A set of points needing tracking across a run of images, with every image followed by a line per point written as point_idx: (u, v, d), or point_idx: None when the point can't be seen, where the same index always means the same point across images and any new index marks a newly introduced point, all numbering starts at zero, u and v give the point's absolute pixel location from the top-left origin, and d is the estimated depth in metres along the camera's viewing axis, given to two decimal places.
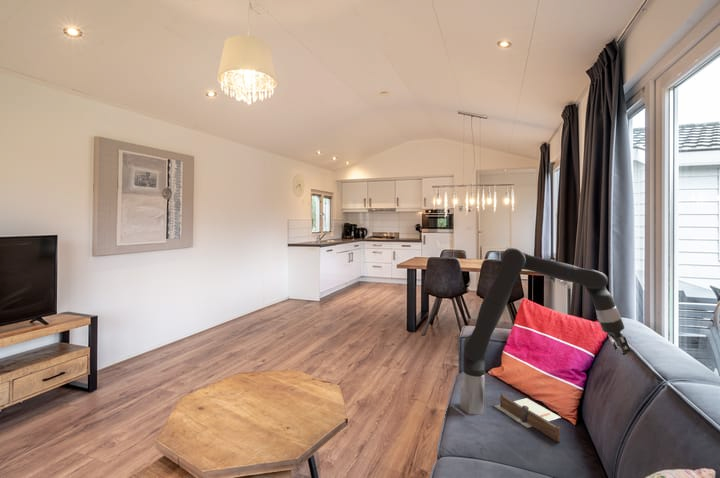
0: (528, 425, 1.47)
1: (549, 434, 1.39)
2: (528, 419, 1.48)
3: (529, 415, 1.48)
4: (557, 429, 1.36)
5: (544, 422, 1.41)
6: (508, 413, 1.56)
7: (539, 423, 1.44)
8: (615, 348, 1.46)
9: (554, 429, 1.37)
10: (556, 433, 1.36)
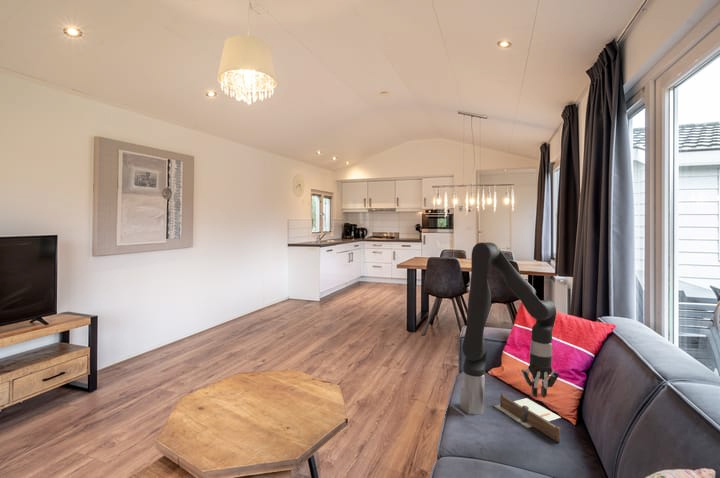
0: (528, 425, 1.47)
1: (549, 434, 1.39)
2: (528, 419, 1.48)
3: (529, 415, 1.48)
4: (557, 429, 1.36)
5: (544, 422, 1.41)
6: (508, 413, 1.56)
7: (539, 423, 1.44)
8: (541, 389, 1.38)
9: (554, 429, 1.37)
10: (556, 433, 1.36)
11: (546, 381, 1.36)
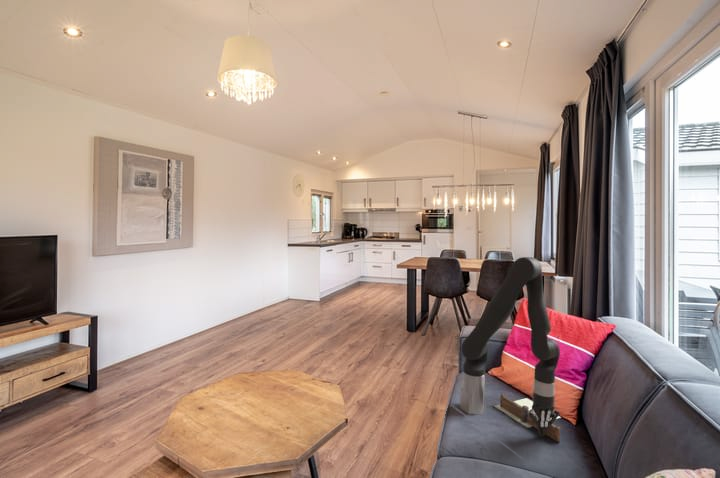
0: (528, 425, 1.47)
1: (549, 434, 1.39)
2: (528, 419, 1.48)
3: None
4: (557, 429, 1.36)
5: None
6: (508, 413, 1.56)
7: None
8: None
9: (554, 429, 1.37)
10: (556, 433, 1.36)
11: (548, 419, 1.37)
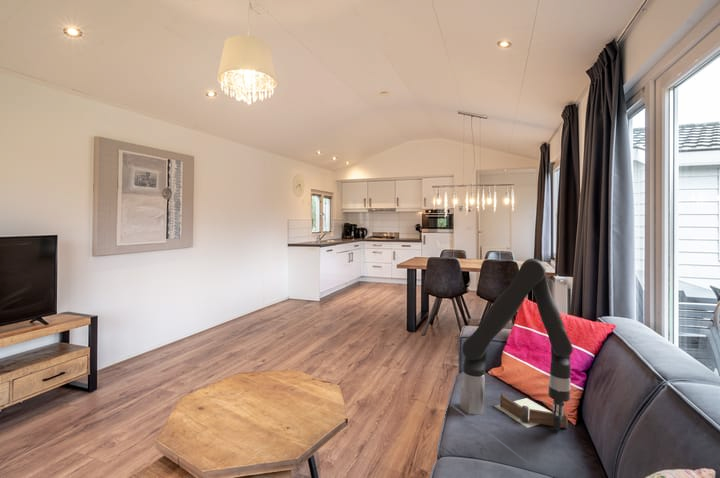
0: (528, 425, 1.47)
1: None
2: (530, 418, 1.49)
3: (532, 413, 1.49)
4: (566, 416, 1.45)
5: (551, 415, 1.47)
6: (508, 413, 1.56)
7: (544, 417, 1.48)
8: None
9: (563, 418, 1.45)
10: (566, 421, 1.45)
11: None
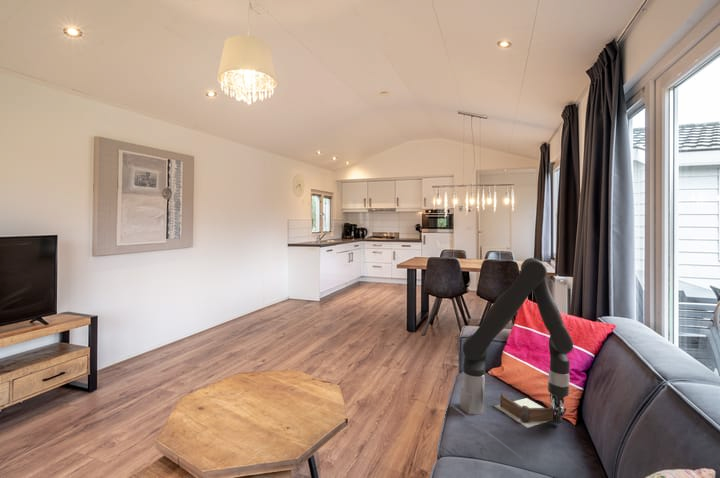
0: (528, 425, 1.47)
1: None
2: (530, 417, 1.50)
3: (532, 412, 1.50)
4: None
5: (548, 410, 1.50)
6: (508, 413, 1.56)
7: (542, 414, 1.50)
8: None
9: None
10: None
11: None
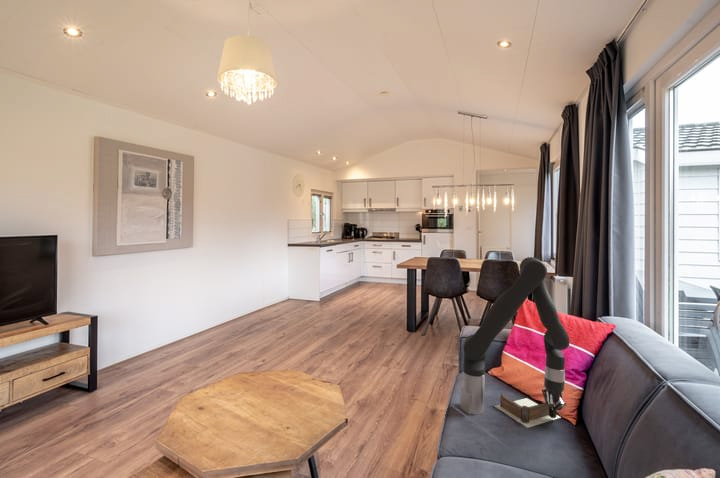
0: (528, 425, 1.47)
1: (547, 413, 1.55)
2: (530, 416, 1.51)
3: (531, 411, 1.51)
4: None
5: (543, 406, 1.53)
6: (508, 413, 1.56)
7: (539, 411, 1.53)
8: (550, 411, 1.52)
9: None
10: None
11: None
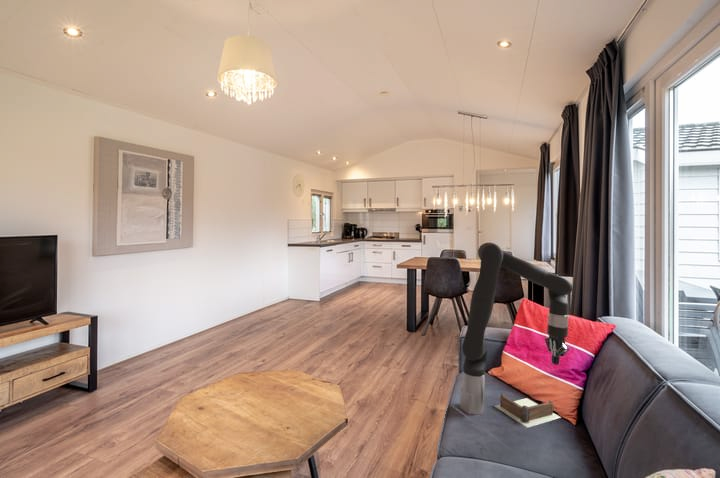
0: (528, 425, 1.47)
1: (546, 413, 1.55)
2: (530, 416, 1.51)
3: (531, 411, 1.51)
4: (552, 403, 1.56)
5: (543, 406, 1.53)
6: (508, 413, 1.56)
7: (539, 410, 1.53)
8: (553, 358, 1.52)
9: (550, 405, 1.55)
10: (552, 407, 1.55)
11: None
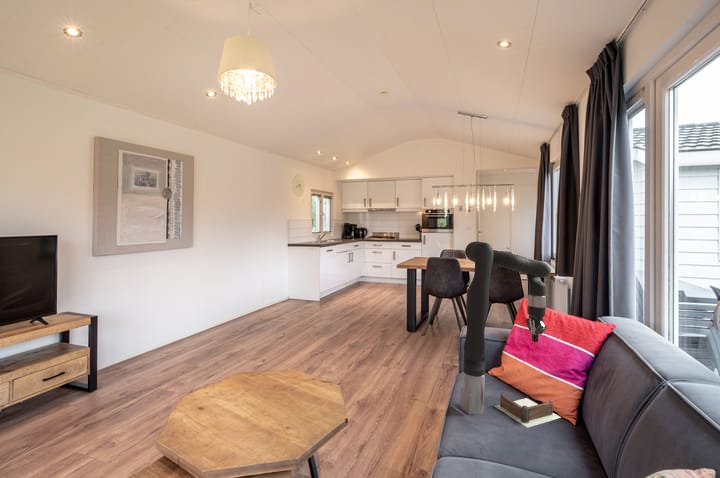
0: (528, 425, 1.47)
1: (546, 413, 1.55)
2: (530, 416, 1.51)
3: (531, 411, 1.51)
4: (552, 403, 1.56)
5: (543, 406, 1.53)
6: (508, 413, 1.56)
7: (539, 410, 1.53)
8: (533, 336, 1.64)
9: (550, 405, 1.55)
10: (552, 407, 1.55)
11: None
